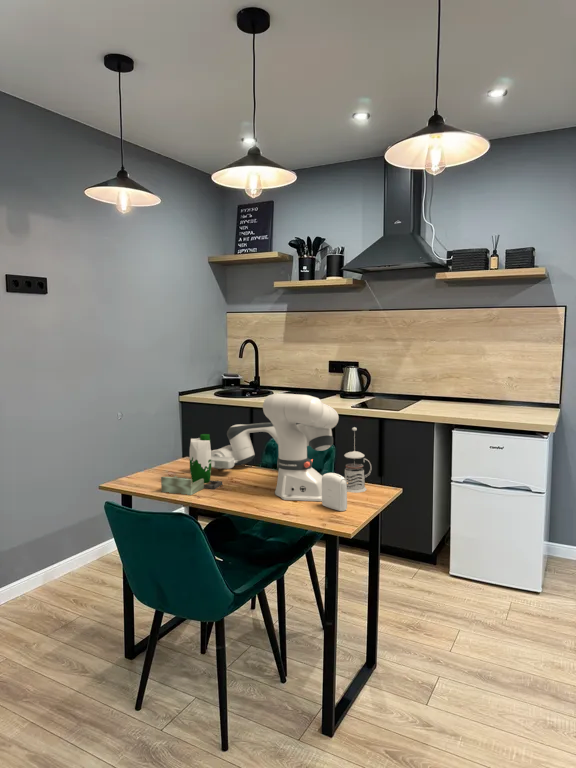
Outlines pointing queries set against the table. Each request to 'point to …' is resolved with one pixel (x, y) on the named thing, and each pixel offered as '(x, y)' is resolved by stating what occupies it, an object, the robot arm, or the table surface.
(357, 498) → the table surface
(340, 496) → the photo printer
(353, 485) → the french press
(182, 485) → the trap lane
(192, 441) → the soya milk
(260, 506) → the table surface
